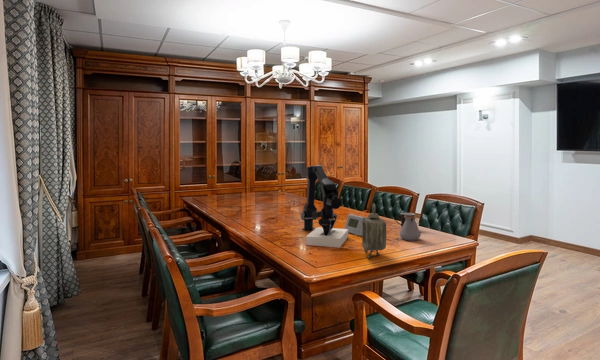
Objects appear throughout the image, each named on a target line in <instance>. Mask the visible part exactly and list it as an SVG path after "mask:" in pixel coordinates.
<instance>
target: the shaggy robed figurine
mask: <svg viewBox="0 0 600 360" xmlns="http://www.w3.org/2000/svg"><path fill="white" fill-rule="evenodd" d="M371 209H372V212H370V213H369V214H368V216H366V217H364V216H362V217H363V222H362V236H361V238H362V239H361V241H362V242H361V243H362V247H363V251H364V252H365V253H368V251H370V252H369V255H367V259H369V260H371V259H372V254H373V252H374V251H375V252H376V253H375V255H376V256H378V257H379V256H380V253H379V251H383V250H385V249H386V248H387V247H386V246H387V222H386V221H385V220H384V219H382V218H380V216H379V214H378V213H377V212H376V203H374V202H372V205H371Z"/></svg>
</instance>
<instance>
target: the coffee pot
mask: <svg viewBox="0 0 600 360" xmlns="http://www.w3.org/2000/svg"><path fill="white" fill-rule="evenodd" d="M404 218H405V219H406V220H405V222H404V224H403V227H402V226H401V229H400V230H399V237H401V239H402V240H404V241H408V242H409V241H411V242H414V241H417V240H418V239H420V237H421V235H422V234H421V231H420V229H419V227H418V224H417V222H416V218H417V216H416V215H415V216H404Z"/></svg>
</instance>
